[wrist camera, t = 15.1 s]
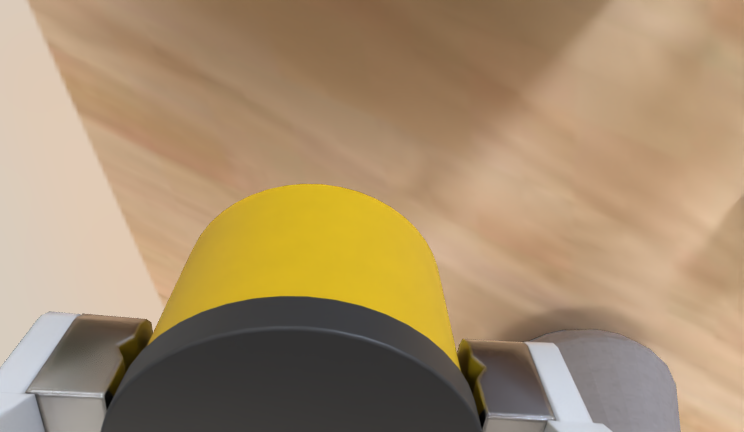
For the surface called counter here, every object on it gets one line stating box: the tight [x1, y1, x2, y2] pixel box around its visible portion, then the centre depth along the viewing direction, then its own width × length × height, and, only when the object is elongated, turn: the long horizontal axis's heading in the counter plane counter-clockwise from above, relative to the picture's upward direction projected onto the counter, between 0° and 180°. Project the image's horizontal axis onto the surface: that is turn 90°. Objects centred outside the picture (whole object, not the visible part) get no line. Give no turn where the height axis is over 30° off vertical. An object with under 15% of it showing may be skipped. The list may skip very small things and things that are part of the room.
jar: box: [101, 184, 482, 432], centre depth 9 cm, size 5×5×4 cm
